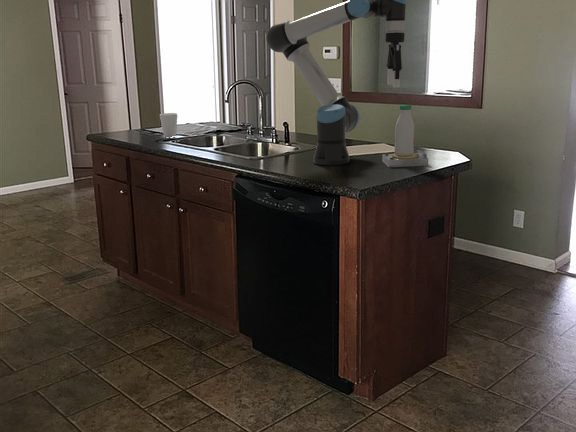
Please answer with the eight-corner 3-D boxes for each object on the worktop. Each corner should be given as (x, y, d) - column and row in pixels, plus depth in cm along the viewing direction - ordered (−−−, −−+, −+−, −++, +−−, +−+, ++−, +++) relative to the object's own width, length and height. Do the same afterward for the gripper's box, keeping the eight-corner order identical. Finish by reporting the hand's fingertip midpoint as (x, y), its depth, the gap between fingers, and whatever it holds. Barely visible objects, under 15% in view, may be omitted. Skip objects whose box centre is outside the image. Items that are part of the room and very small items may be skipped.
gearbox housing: (388, 167, 242) (388, 156, 241) (382, 161, 254) (382, 150, 252) (428, 165, 243) (428, 154, 242) (419, 159, 255) (420, 149, 253)
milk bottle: (412, 156, 243) (414, 106, 237) (393, 156, 245) (394, 106, 239) (414, 153, 250) (416, 104, 244) (395, 152, 252) (396, 104, 246)
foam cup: (159, 139, 332) (157, 115, 328) (165, 136, 341) (163, 113, 337) (175, 138, 330) (173, 115, 327) (181, 136, 339) (179, 112, 336)
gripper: (410, 31, 231) (408, 88, 237) (398, 32, 255) (397, 83, 261) (391, 32, 231) (389, 89, 237) (380, 32, 255) (379, 84, 261)
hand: (393, 86), depth 249 cm, fingers open, 13 cm apart
